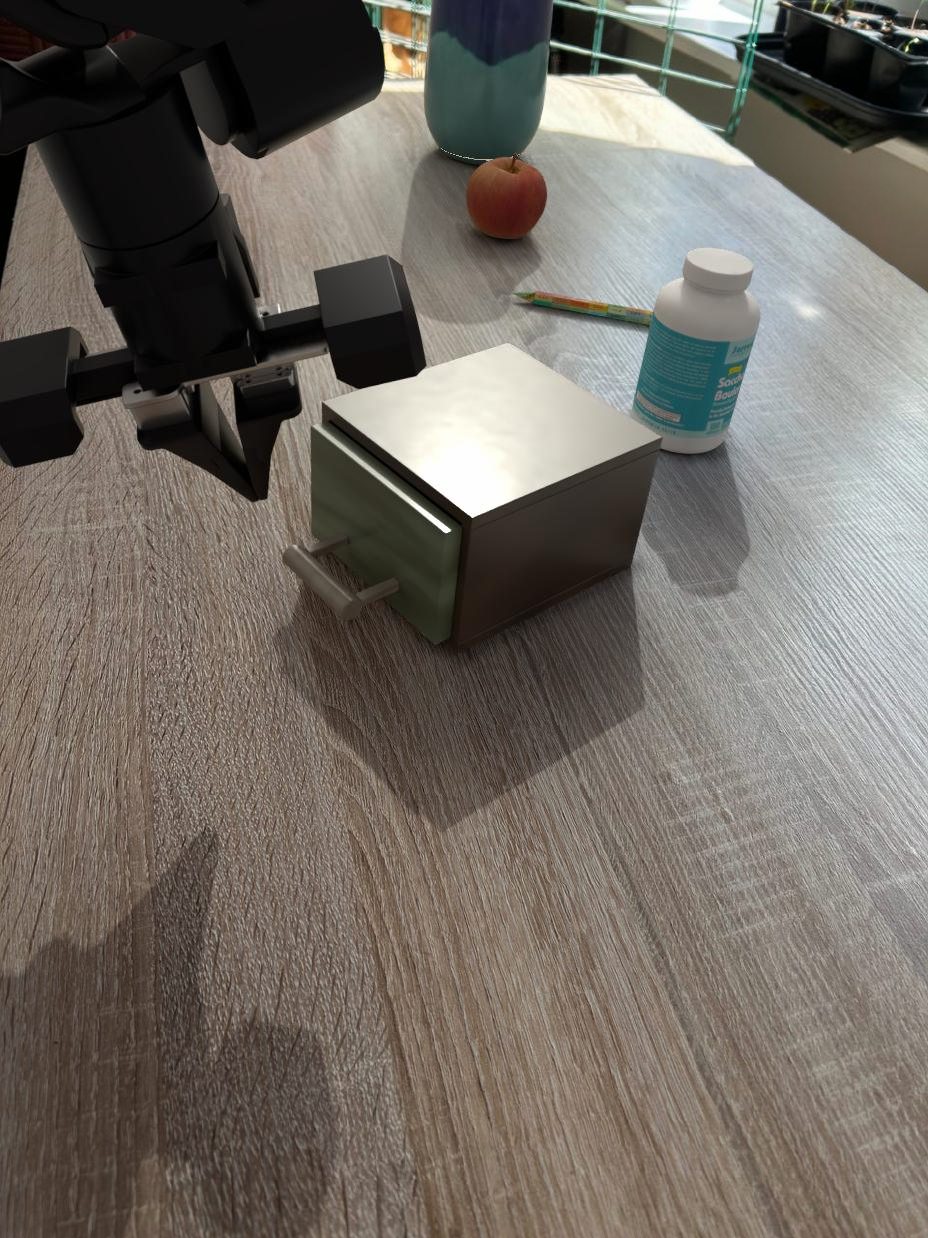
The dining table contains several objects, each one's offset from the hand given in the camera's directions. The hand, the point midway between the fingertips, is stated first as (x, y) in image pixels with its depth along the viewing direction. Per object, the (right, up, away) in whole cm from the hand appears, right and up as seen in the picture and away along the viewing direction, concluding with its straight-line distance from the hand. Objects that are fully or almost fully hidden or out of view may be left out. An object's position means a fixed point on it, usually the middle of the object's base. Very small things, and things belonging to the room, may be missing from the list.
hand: (259, 494), depth 53 cm
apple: (+14, +33, +55) cm, 66 cm away
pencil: (+23, +21, +43) cm, 53 cm away
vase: (+12, +49, +73) cm, 89 cm away
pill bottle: (+26, +8, +28) cm, 40 cm away
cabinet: (+11, -2, +15) cm, 19 cm away
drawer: (+8, -3, +12) cm, 15 cm away
